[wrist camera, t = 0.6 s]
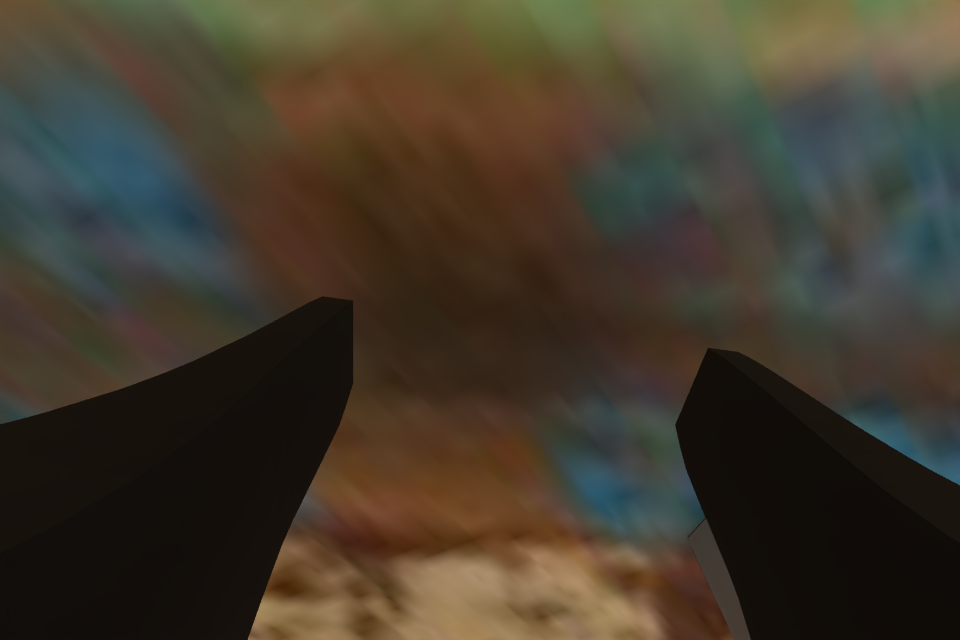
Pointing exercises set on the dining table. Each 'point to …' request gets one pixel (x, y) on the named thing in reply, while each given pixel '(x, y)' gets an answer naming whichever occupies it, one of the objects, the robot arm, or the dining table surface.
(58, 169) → the dining table surface
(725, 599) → the wall board
